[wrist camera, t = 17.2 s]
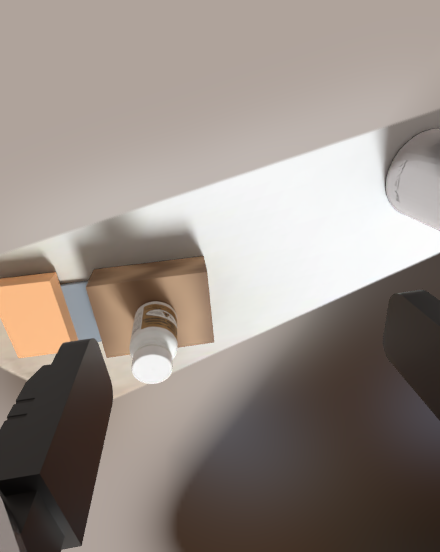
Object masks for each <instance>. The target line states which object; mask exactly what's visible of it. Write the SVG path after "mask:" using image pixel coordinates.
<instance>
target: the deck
mask: <svg viewBox="0 0 440 552" xmlns="http://www.w3.org/2000/svg"><path fill="white" fill-rule="evenodd" d="M86 290H87V294H88V297H89V300H90V304H91V307H92V310H93V314H94V317H95V320H96V324H97V327H98V330H99V334H100V337H101V340H102V344H103V347H104V350H105V353H106V357H107V358H109V357H116V356H123V355H130V350H129V348H130V340H131V335H132V329H133V323H134V318H135V314H136V312H137V310H138V309H139V308H140V307H141V306H142V305H144V304H146V303H148V302H153V301H158V302H163V303H166V304H168V305H170V306H171V307H172V308H173V309H174V311H175V313H176V315H177V341H178V343H177V344H178V346H177V348H178V347H185V346H192V345H199V344H206V343H213V342H214V335H213V325H212V315H211V306H210V296H209V286H208V276H207V269H206V265H205V260H204V256H200V257H192V258H184V259H176V260H167V261H159V262H151V263H143V264H134V265H126V266H118V267H110V268H102V269H94V270H93V272H92V274H91V277H90V279H89V281H88V283H87V285H86Z"/></svg>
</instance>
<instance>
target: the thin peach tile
mask: <svg viewBox="0 0 440 552" xmlns="http://www.w3.org/2000/svg"><path fill="white" fill-rule="evenodd" d="M0 318H1V320H2V322H3V325H4V327H5V329H6V331H7V333H8V336H9V338H10V340H11V342H12V345H13V347H14V349H15V351H16V353H17V356H18V358H24V357H31V356H39V355H46V354H53V353H57V352H58V350H59V348H60V346H61V345H62V343H64V342H70V341H77V340H78V337H77V334H76V331H75V328H74V325H73V322H72V319H71V316H70V313H69V310H68V307H67V304H66V301H65V298H64V295H63V292H62V289H61V286H60V283H59V280H58V277H57V274H56V272H54V273H45V274H36V275H28V276H19V277H10V278H2V279H0Z"/></svg>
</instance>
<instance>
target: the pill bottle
mask: <svg viewBox="0 0 440 552" xmlns="http://www.w3.org/2000/svg"><path fill="white" fill-rule="evenodd" d="M177 343H178V341H177V315H176V313H175V311H174V309H173V308H172V307H171V306H170V305H168V304H166V303H163V302H158V301H153V302H148V303H146V304H144V305H142V306H141V307H140V308H139V309H138V310H137V312H136V314H135V318H134V323H133V329H132V335H131V340H130V348H129V350H130V355H131V357H132V358H133V360H132V373H133V375H134V377H135V378H136V379H137V380H139V381H141V382H143V383H147V384H155V383H160V382H162V381H164V380H166V379H167V378H168V377H169V376H170V375H171V372H172V367H173V359H174V357H175V355H176V353H177V346H178V344H177Z"/></svg>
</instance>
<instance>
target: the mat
mask: <svg viewBox="0 0 440 552" xmlns="http://www.w3.org/2000/svg"><path fill="white" fill-rule="evenodd" d="M87 283H88V281H84V282H76V283H68V284H60V286H61V289H62V292H63V295H64V298H65V301H66V304H67V307H68V310H69V313H70V316H71V319H72V322H73V325H74V328H75V331H76V334H77V337H78V340H84V339H91V338H94V339H96V341H97V342H100V341H102V340H101V337H100V334H99V330H98V327H97V324H96V320H95V317H94V314H93V310H92V307H91V304H90V300H89V297H88V294H87V290H86V285H87Z"/></svg>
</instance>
